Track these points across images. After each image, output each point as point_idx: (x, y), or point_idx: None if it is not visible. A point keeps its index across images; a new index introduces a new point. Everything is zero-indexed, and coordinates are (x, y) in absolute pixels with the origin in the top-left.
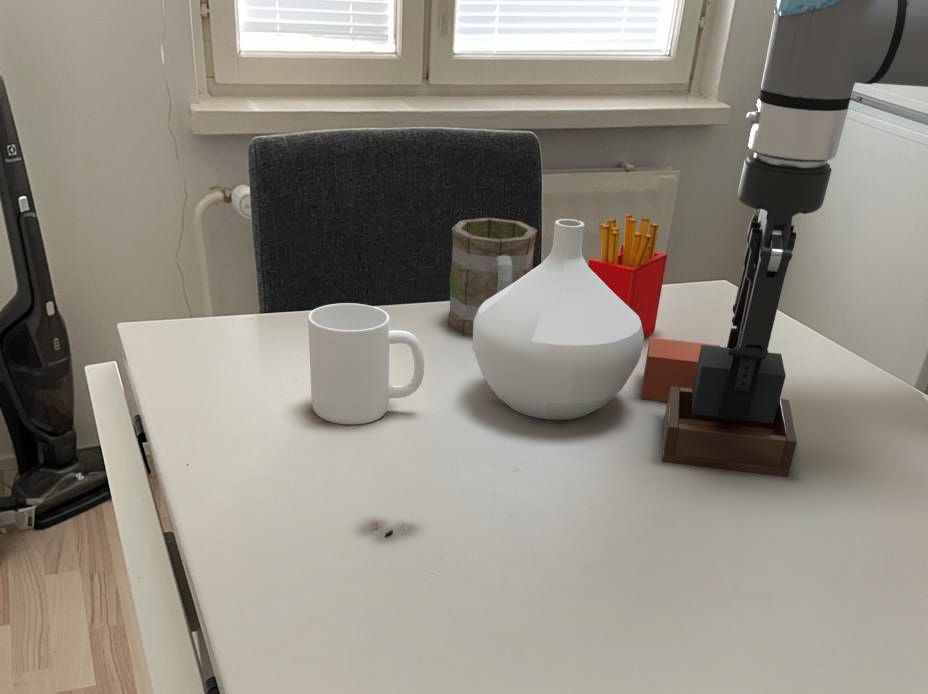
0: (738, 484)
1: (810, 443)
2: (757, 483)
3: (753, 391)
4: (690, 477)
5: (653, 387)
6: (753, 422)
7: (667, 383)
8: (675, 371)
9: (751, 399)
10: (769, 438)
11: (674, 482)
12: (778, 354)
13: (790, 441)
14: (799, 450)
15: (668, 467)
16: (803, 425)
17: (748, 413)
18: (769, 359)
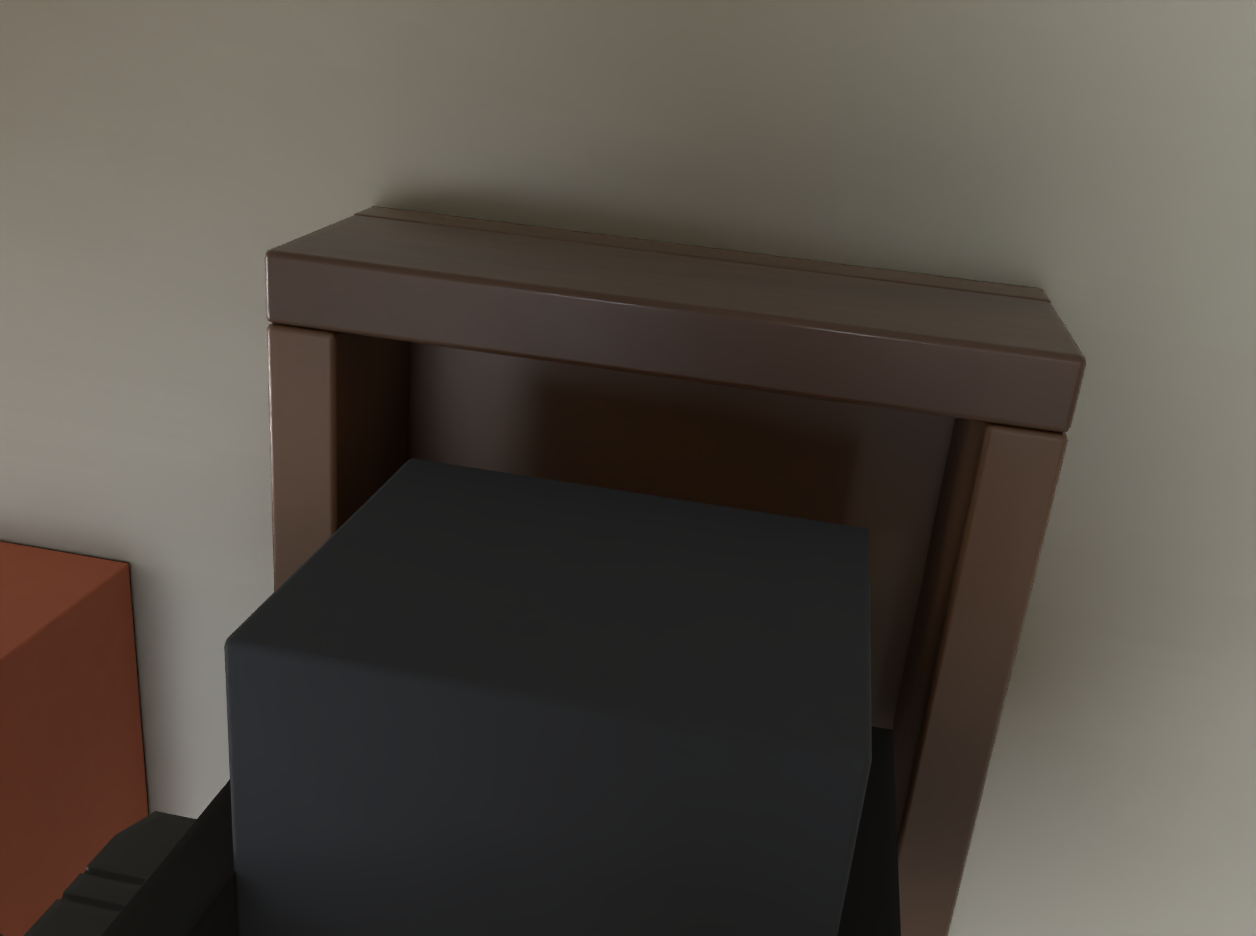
0: (1165, 612)
1: (487, 15)
2: (1147, 499)
3: (898, 895)
4: (1086, 843)
5: None
6: (402, 425)
7: (85, 864)
8: (33, 892)
9: (896, 845)
10: (1033, 556)
11: (1153, 929)
12: (258, 677)
13: (1073, 408)
14: (617, 122)
15: (970, 922)
16: (206, 11)
17: (892, 765)
18: (430, 797)
